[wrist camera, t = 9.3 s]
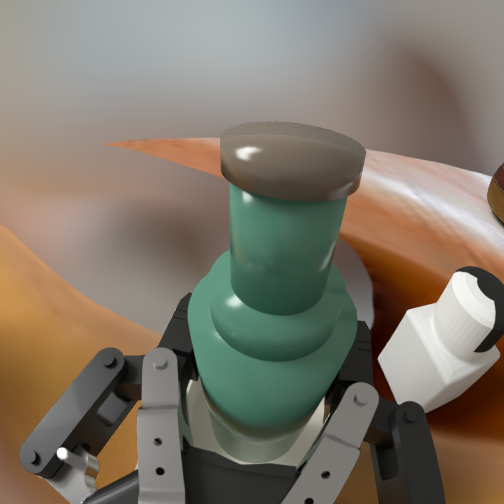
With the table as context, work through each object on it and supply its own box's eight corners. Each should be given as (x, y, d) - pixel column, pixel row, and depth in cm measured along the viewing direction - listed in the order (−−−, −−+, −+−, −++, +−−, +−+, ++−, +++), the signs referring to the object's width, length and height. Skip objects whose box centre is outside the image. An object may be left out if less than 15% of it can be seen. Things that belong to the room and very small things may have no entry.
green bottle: (203, 452, 14) (108, 175, 4) (224, 381, 18) (212, 109, 8) (292, 469, 13) (459, 224, 3) (303, 395, 17) (387, 131, 7)
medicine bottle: (430, 341, 26) (487, 251, 18) (459, 397, 20) (537, 314, 13) (375, 358, 24) (431, 259, 17) (403, 423, 19) (490, 341, 12)
